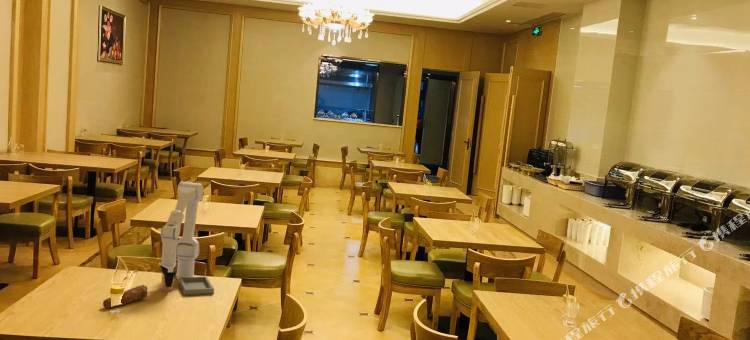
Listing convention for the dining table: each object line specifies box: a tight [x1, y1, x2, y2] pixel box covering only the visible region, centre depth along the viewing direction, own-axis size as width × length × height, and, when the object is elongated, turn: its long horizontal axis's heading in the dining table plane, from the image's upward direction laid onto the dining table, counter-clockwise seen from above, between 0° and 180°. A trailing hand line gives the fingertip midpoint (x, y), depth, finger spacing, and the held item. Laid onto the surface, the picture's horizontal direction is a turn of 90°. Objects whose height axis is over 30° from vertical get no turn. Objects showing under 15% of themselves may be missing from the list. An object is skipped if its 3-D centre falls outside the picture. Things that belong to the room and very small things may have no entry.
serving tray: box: [178, 275, 215, 296], centre depth 277 cm, size 18×12×2 cm, turn 25°
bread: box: [102, 284, 148, 310], centre depth 251 cm, size 6×19×6 cm, turn 151°
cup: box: [160, 272, 175, 292], centre depth 272 cm, size 5×5×7 cm
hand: (167, 284), depth 272 cm, fingers open, 7 cm apart
